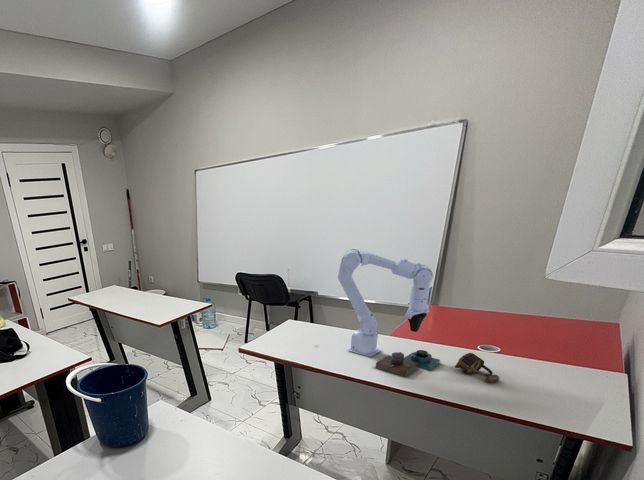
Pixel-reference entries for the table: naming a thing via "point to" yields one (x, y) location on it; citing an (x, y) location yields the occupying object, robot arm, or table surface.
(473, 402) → the table surface
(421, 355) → the button
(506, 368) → the table surface
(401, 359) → the dial knob
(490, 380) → the mechanical counter
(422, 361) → the button box
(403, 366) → the dial panel
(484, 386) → the table surface
